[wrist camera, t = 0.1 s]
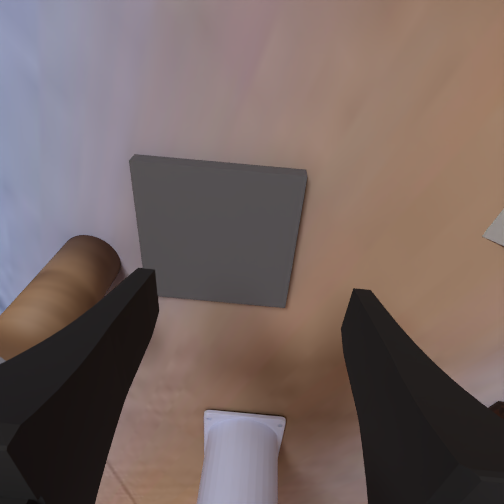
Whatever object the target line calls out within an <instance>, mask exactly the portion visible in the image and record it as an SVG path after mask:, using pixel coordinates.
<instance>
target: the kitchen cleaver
mask: <svg viewBox="0 0 504 504" xmlns="http://www.w3.org/2000/svg"><path fill="white" fill-rule="evenodd" d="M482 237H485V238H487V239H489V240H491V241H494V242H496V243H498V244H500V245H503V246H504V209H503V210H502V211H501V213H500V214H499V215H498V216H497V218H496V219H495V220H494V222H493V223H492V224H491V226H489V227H488V228H487V230H486V231H485V233H484V234H483V236H482Z"/></svg>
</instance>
